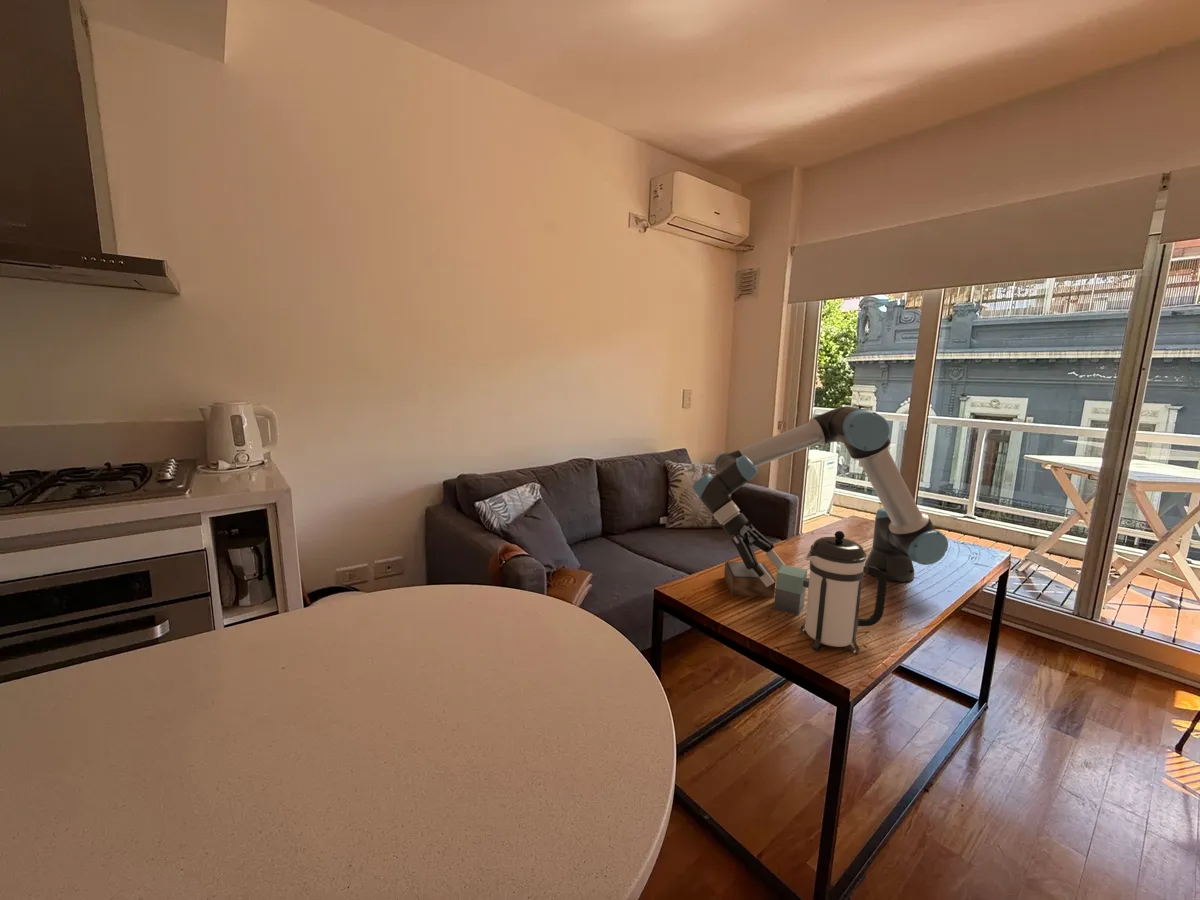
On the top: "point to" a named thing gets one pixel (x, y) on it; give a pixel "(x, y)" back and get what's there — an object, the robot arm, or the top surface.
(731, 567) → the walnut stand
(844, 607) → the coffee press
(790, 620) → the top surface
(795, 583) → the lid
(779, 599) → the base
